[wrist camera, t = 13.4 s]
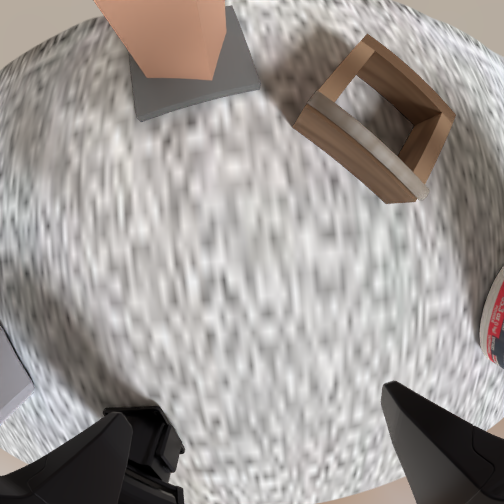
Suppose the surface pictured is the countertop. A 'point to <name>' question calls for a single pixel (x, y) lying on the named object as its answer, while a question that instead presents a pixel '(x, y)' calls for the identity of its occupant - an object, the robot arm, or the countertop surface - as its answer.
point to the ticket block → (170, 34)
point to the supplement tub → (494, 322)
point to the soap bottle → (12, 380)
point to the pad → (194, 90)
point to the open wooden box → (366, 143)
